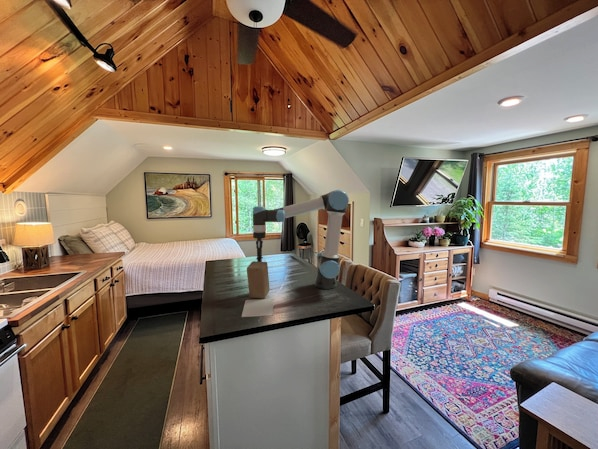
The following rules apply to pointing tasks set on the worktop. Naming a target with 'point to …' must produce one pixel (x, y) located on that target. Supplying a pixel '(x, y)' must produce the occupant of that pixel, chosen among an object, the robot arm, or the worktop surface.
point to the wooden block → (258, 279)
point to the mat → (258, 308)
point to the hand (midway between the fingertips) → (259, 269)
